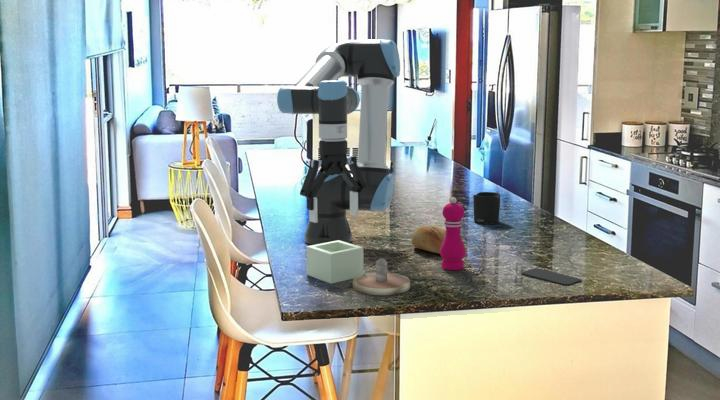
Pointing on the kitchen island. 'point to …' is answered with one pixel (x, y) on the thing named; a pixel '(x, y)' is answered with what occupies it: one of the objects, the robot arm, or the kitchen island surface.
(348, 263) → the square ring
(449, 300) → the kitchen island surface
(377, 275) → the post stand
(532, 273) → the phone
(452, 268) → the pepper mill
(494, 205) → the pen holder
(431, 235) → the bread roll
